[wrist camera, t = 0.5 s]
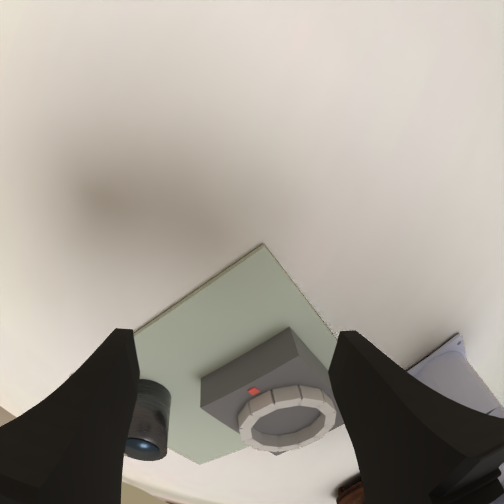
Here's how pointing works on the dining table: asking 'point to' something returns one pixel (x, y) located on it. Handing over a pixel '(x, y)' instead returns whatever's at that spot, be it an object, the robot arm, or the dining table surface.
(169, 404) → the lens
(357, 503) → the scroll
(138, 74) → the dining table surface
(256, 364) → the camera body
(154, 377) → the mat
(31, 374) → the dining table surface
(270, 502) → the dining table surface
